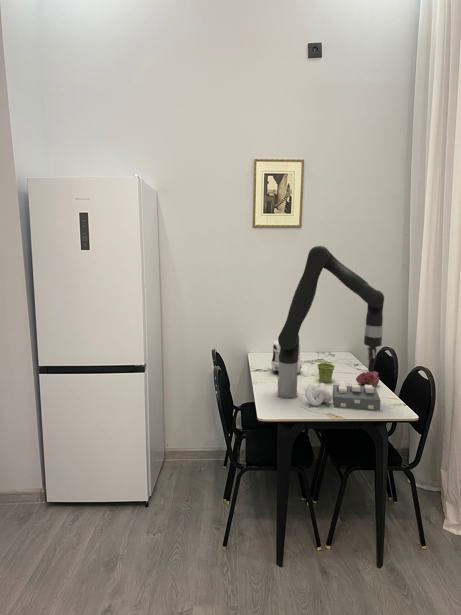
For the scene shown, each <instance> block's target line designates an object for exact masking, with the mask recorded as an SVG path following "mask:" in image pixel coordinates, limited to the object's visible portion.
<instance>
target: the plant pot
mask: <svg viewBox="0 0 461 615" xmlns="http://www.w3.org/2000/svg"><path fill="white" fill-rule="evenodd" d="M316 366H317V369H318V377H319V381H320V383H324V384H325V383H331V381H332V378H333V372H334V370H335V367H336V365H334V364H332V363H328V362H327V363H326V362H320V363H318V364H316Z"/></svg>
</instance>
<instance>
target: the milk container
mask: <svg viewBox="0 0 461 615" xmlns="http://www.w3.org/2000/svg"><path fill="white" fill-rule="evenodd" d="M272 347H273V348H272V359H271V363H270V364H271V370H272V371H273V372H274V373H276V374H279V354H280V345H279V343H278V339H276V340H275V339H274V341H273V346H272ZM301 369H302V360H301V341H299V354H298V370H297V374H298V373H300V371H301Z"/></svg>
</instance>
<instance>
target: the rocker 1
mask: <svg viewBox="0 0 461 615" xmlns="http://www.w3.org/2000/svg"><path fill="white" fill-rule="evenodd" d="M338 385H339V393H347V387H346V386H347V381H344V380H338Z"/></svg>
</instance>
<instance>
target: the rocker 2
mask: <svg viewBox="0 0 461 615" xmlns="http://www.w3.org/2000/svg"><path fill="white" fill-rule="evenodd" d="M350 386H351V387H352V391H357V392H360V385H359V384H350Z"/></svg>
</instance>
